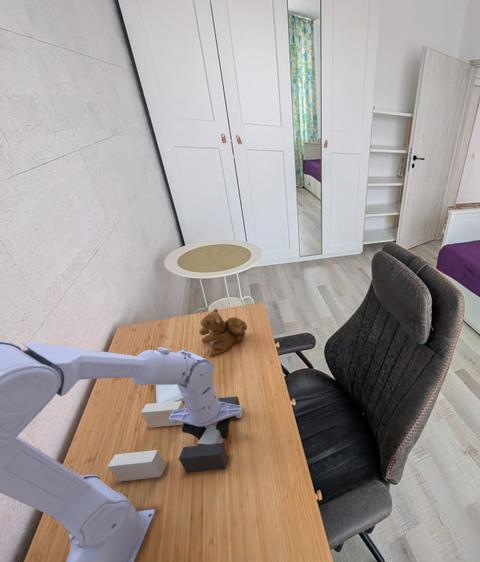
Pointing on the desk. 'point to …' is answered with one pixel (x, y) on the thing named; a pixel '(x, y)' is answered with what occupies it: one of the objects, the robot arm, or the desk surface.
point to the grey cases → (207, 451)
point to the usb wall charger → (211, 436)
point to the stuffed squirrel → (221, 331)
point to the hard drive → (168, 393)
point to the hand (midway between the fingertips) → (215, 435)
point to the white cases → (146, 461)
